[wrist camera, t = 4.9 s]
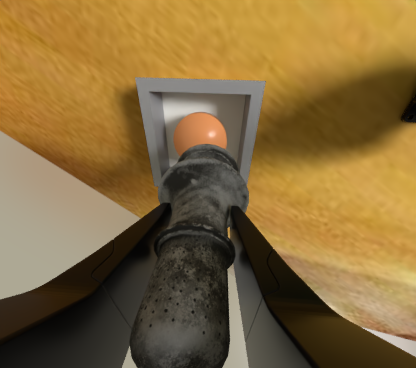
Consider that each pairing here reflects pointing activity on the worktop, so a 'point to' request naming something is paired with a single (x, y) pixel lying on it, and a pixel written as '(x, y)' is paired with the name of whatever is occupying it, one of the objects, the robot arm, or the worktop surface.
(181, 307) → the salt shaker
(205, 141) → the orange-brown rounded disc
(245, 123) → the grey square tray
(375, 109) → the worktop surface
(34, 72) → the worktop surface
